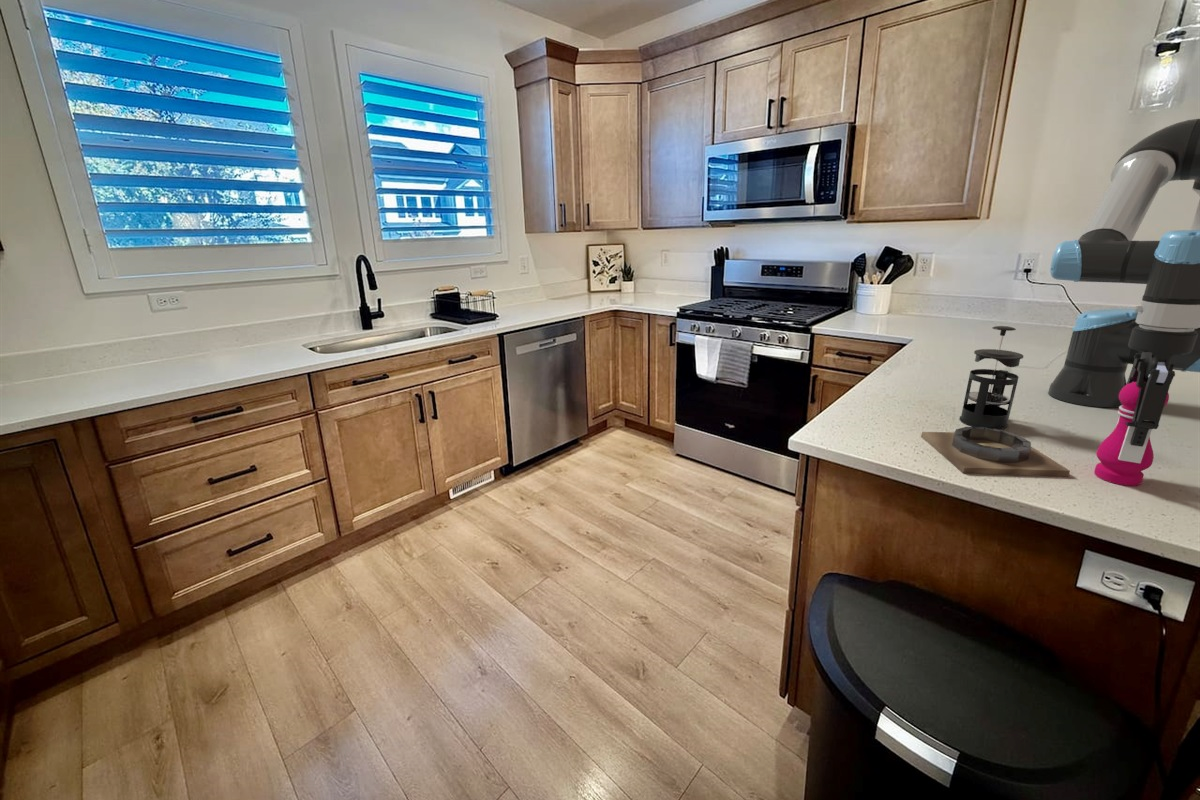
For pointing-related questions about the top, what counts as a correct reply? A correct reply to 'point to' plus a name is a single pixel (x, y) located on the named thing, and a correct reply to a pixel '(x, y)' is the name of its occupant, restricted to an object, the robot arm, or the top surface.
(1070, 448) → the top surface
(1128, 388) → the pepper mill
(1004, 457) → the iron collar
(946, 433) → the collar plate
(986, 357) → the french press
